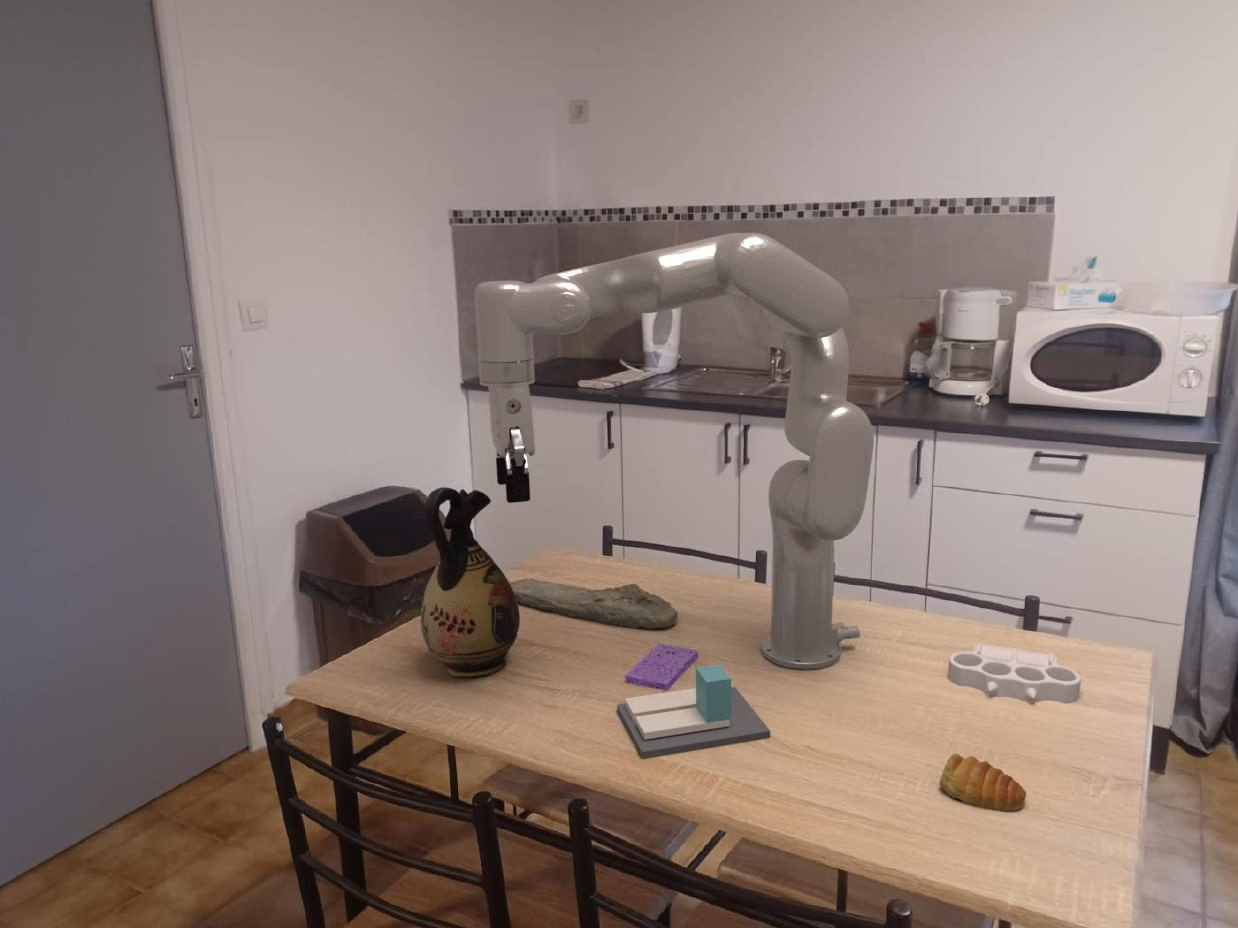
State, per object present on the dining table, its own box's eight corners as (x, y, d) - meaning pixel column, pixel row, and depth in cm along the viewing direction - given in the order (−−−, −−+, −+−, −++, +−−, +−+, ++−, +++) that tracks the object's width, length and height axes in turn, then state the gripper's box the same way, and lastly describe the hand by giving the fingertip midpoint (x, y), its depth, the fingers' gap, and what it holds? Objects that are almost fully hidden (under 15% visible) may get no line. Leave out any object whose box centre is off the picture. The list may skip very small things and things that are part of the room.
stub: (719, 710, 131) (719, 664, 129) (731, 725, 127) (731, 678, 125) (635, 723, 128) (634, 676, 126) (644, 739, 124) (643, 691, 122)
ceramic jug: (470, 636, 160) (459, 467, 152) (541, 657, 151) (532, 479, 144) (396, 676, 146) (379, 492, 139) (468, 701, 138) (454, 507, 130)
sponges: (698, 660, 150) (698, 649, 150) (666, 694, 139) (666, 683, 139) (658, 652, 153) (658, 641, 153) (624, 685, 143) (624, 674, 142)
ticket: (704, 694, 136) (704, 686, 136) (717, 711, 131) (717, 703, 131) (625, 706, 133) (625, 698, 133) (635, 724, 128) (635, 716, 128)
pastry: (1031, 795, 112) (1034, 767, 112) (1015, 823, 107) (1018, 794, 106) (953, 769, 118) (955, 742, 117) (934, 795, 113) (936, 767, 112)
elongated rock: (525, 592, 183) (495, 613, 174) (522, 567, 181) (492, 587, 173) (688, 614, 166) (664, 638, 158) (686, 587, 165) (661, 610, 156)
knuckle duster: (1077, 672, 143) (1079, 717, 130) (953, 653, 150) (943, 694, 137) (1079, 652, 142) (1082, 695, 129) (954, 634, 149) (945, 673, 136)
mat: (734, 692, 138) (735, 686, 138) (770, 737, 126) (770, 730, 126) (617, 710, 134) (617, 704, 134) (642, 758, 122) (641, 751, 122)
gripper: (544, 380, 121) (550, 506, 125) (524, 362, 137) (529, 475, 141) (486, 383, 119) (494, 511, 123) (472, 365, 135) (480, 479, 140)
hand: (513, 492), depth 132 cm, fingers open, 9 cm apart
